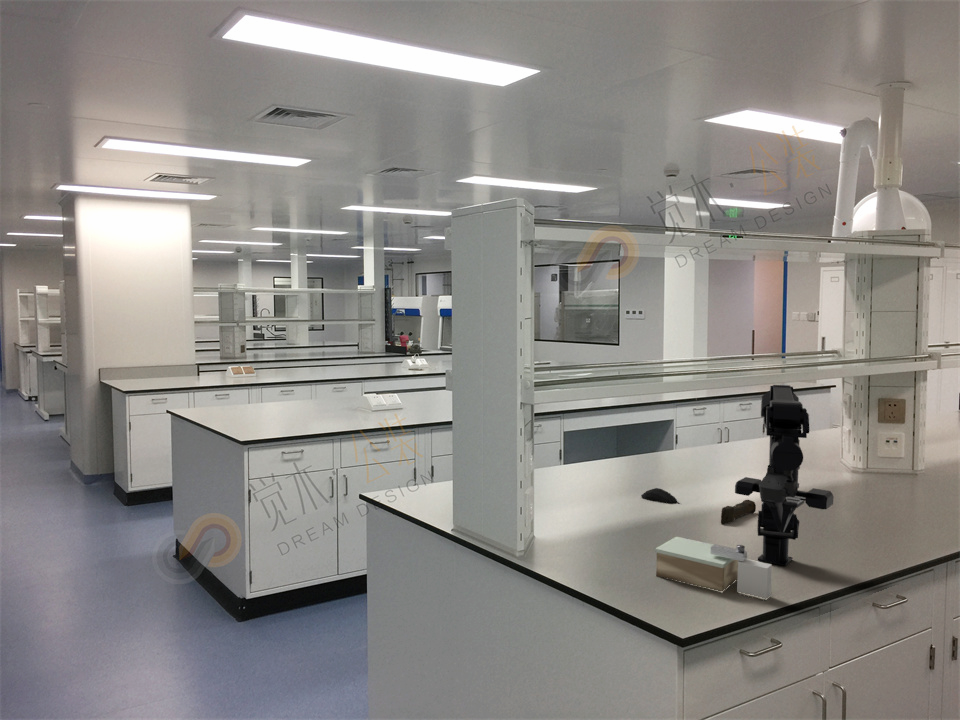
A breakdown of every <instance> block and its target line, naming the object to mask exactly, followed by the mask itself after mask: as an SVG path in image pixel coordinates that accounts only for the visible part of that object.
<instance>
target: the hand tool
mask: <svg viewBox="0 0 960 720" xmlns="http://www.w3.org/2000/svg"><path fill="white" fill-rule="evenodd" d="M756 508H757V505H756V502H755V501H754V500H750V499H745V500H743V501H742V502H739V503H736V504H735V505H734V506H731V505H727V506H724V507H723V506H722V508H721V514H720V524H721V525H725V524H730V523H734V521H735V519H738V518H741V517H742V516H745V515H747V514H749V513H751V514H755V512H756Z"/></svg>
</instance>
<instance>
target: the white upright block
mask: <svg viewBox="0 0 960 720" xmlns="http://www.w3.org/2000/svg"><path fill="white" fill-rule="evenodd" d="M772 567H773V564H772V563H768V562H763V561H759V560H754V559H748V558H747V559H746V560H744V561H738V579H737V581H736V583H737V584H736V585H737V587H736V588H737V589H736V593H737V592H741V593H745V594H750V595H754V596H758V597H762V598H765V599H766V598H768V597H769V596H770V595H772V593H771V592H772V570H773V569H772Z"/></svg>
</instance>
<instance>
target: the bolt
mask: <svg viewBox="0 0 960 720" xmlns="http://www.w3.org/2000/svg"><path fill="white" fill-rule="evenodd" d="M711 554H713V555H717V556H721V557H726V558H730V559H735V560H739V561H744V560H746V559H748V551H747V550H745V545H742V544H737V545H736V547H735V548H734V547H730V546H726V545H725V546H724V545H721V544H716V543H713V546H711Z"/></svg>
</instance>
